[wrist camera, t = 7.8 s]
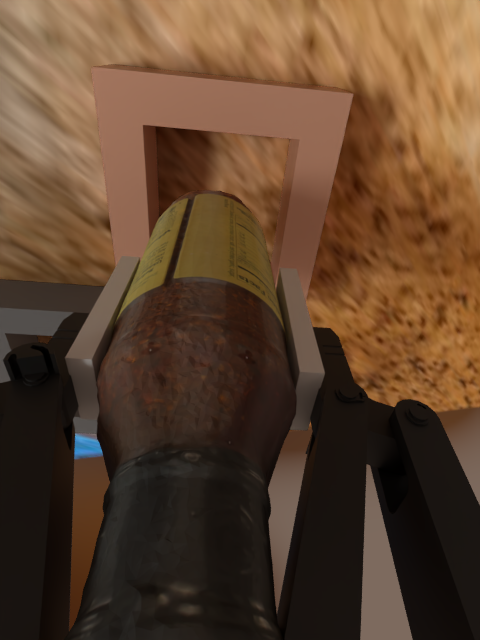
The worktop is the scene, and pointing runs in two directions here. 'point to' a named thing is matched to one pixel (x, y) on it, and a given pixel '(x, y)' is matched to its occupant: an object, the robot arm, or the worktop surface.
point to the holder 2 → (218, 116)
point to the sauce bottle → (191, 435)
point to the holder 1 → (41, 319)
